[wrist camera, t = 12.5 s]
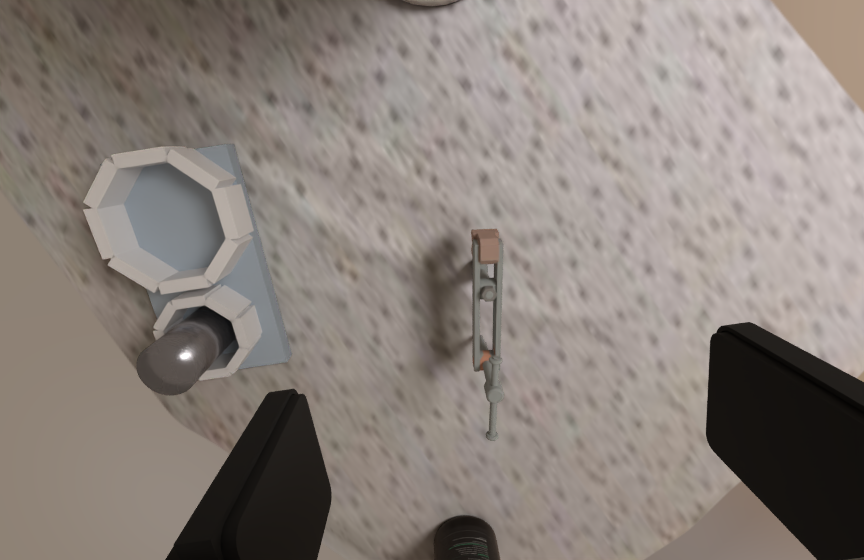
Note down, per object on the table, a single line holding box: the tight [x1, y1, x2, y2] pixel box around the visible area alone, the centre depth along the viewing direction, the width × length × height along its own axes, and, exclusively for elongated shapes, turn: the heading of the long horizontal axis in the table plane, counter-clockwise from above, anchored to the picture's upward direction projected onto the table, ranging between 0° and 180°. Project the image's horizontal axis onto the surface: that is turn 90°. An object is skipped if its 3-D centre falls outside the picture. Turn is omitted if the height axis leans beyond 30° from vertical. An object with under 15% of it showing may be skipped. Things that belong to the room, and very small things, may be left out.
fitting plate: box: [83, 144, 292, 381], centre depth 35 cm, size 19×11×4 cm, turn 9°
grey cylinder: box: [137, 305, 236, 395], centre depth 34 cm, size 4×4×8 cm
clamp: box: [471, 229, 504, 441], centre depth 35 cm, size 15×2×10 cm, turn 2°
